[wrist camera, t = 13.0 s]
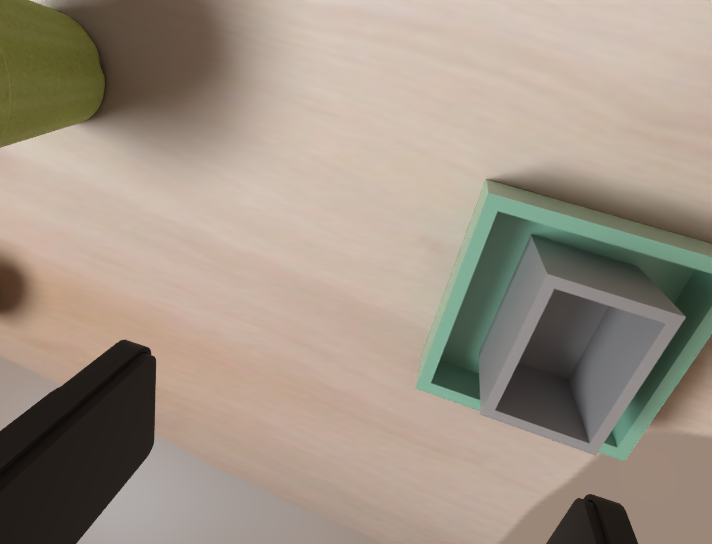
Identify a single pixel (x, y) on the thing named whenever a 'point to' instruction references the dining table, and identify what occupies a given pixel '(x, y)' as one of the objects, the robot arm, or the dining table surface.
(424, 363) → the big crate
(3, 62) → the plant pot
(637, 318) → the small crate
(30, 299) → the dining table surface
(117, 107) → the dining table surface
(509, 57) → the dining table surface
